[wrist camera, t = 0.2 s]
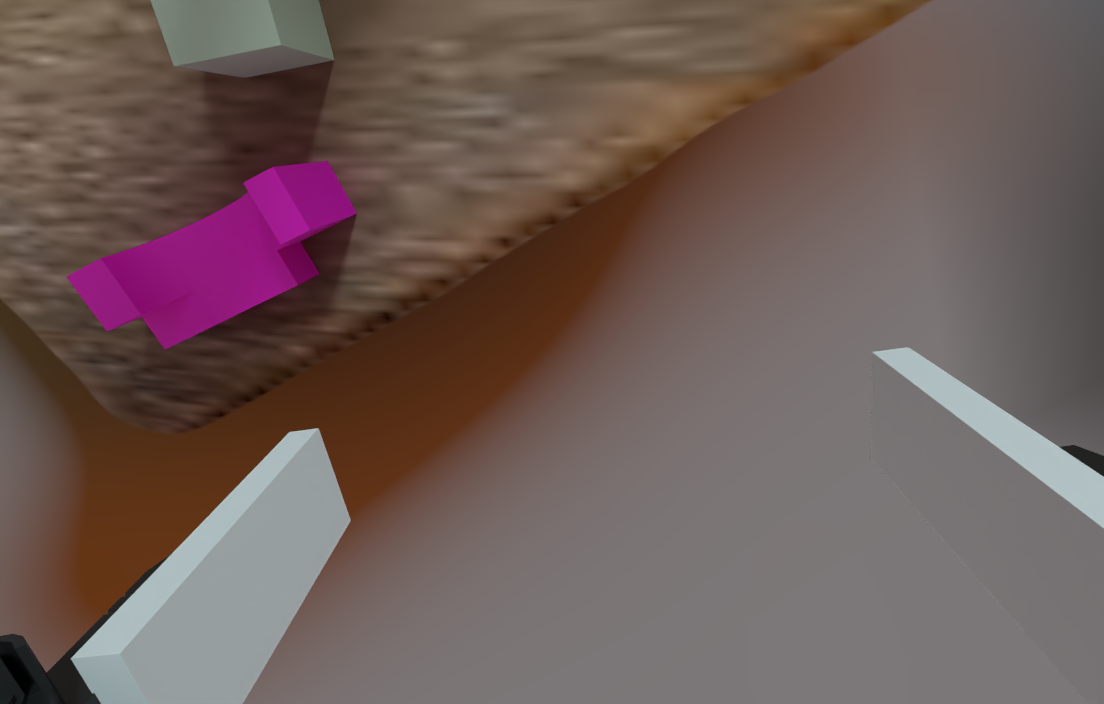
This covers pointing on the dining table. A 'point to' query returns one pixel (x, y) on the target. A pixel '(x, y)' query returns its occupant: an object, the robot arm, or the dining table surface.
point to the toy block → (219, 257)
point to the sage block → (243, 35)
